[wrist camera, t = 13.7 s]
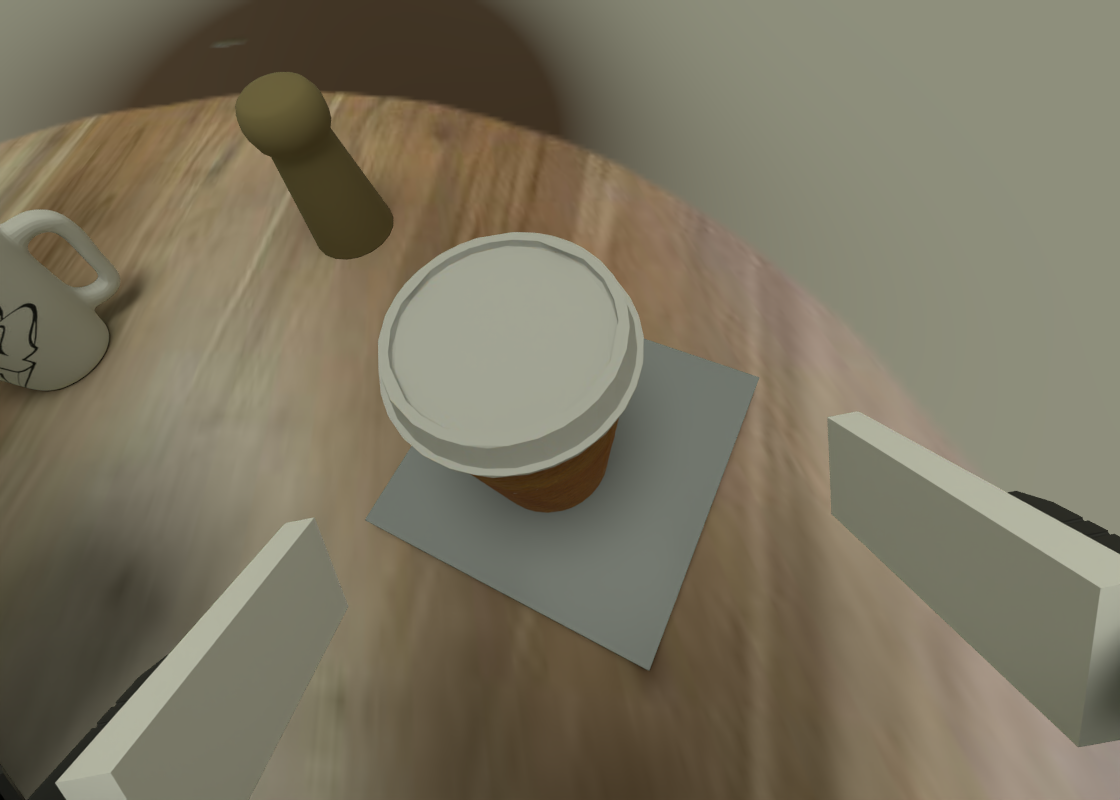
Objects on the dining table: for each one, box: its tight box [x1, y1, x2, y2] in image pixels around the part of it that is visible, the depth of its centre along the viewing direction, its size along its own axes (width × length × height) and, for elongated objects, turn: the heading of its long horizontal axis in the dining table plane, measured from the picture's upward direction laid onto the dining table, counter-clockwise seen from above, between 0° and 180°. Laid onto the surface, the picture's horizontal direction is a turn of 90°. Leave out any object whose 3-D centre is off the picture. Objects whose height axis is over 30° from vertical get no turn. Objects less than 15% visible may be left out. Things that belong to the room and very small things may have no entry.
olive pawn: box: [235, 72, 393, 259], centre depth 35 cm, size 6×6×11 cm
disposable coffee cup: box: [378, 232, 644, 513], centre depth 23 cm, size 10×10×12 cm
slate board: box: [365, 339, 759, 671], centre depth 29 cm, size 16×16×2 cm
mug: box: [0, 210, 120, 391], centre depth 34 cm, size 12×8×10 cm
